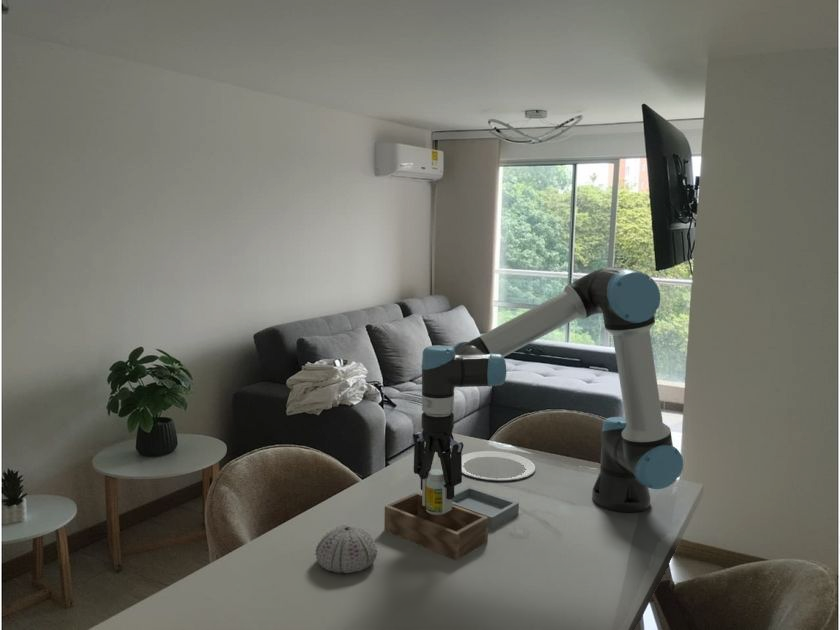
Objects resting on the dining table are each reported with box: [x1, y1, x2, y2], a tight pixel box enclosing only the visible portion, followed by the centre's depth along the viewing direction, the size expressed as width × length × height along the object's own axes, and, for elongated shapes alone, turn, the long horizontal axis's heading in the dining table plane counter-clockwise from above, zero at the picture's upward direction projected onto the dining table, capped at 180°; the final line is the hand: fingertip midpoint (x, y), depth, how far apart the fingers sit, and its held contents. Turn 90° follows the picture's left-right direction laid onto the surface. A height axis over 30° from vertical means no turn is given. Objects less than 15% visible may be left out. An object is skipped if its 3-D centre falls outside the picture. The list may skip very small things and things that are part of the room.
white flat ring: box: [462, 450, 536, 482], centre depth 207 cm, size 25×25×1 cm
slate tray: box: [452, 486, 520, 530], centre depth 174 cm, size 16×12×3 cm
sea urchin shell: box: [314, 524, 378, 574], centre depth 147 cm, size 13×14×8 cm
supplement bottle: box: [426, 468, 445, 515], centre depth 159 cm, size 5×5×10 cm
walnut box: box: [383, 491, 489, 561], centre depth 161 cm, size 22×12×6 cm, turn 49°
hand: (436, 507), depth 160 cm, fingers closed on supplement bottle, 5 cm apart
